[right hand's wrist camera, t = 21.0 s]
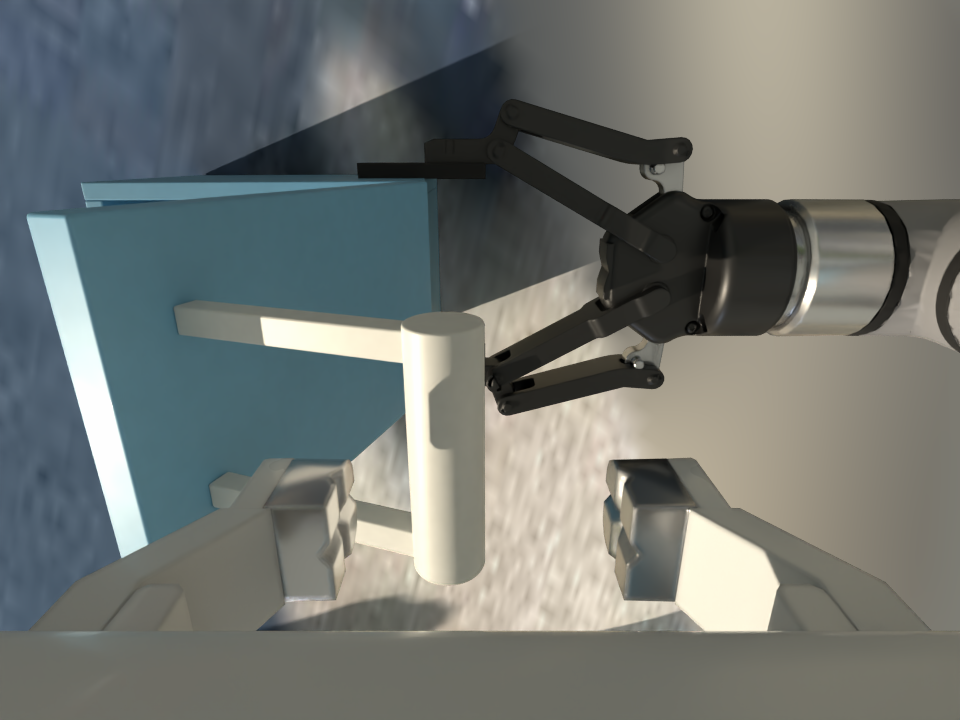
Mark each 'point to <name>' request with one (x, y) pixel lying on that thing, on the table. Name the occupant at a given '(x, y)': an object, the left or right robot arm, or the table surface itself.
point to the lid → (269, 357)
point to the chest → (252, 184)
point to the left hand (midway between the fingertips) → (369, 268)
